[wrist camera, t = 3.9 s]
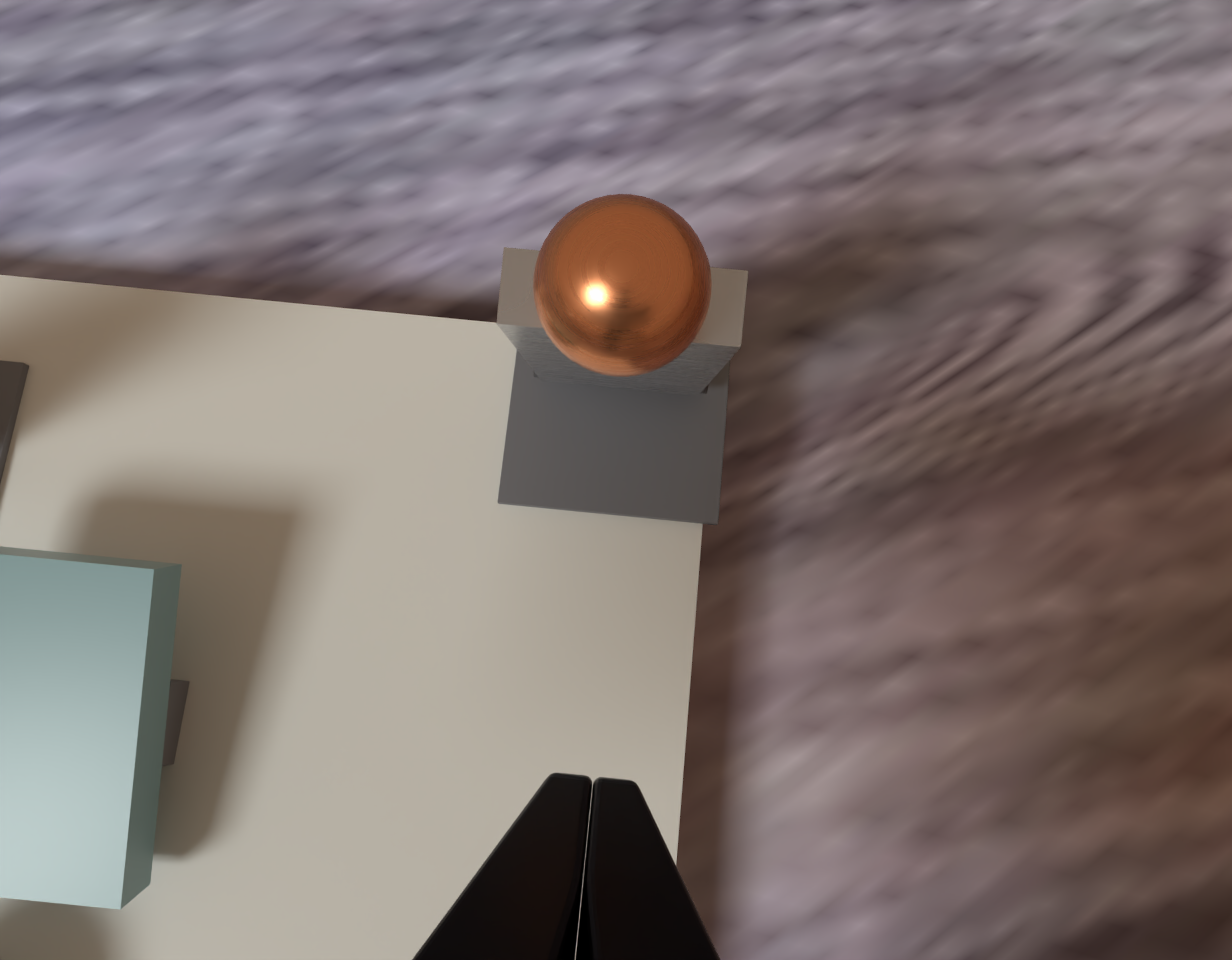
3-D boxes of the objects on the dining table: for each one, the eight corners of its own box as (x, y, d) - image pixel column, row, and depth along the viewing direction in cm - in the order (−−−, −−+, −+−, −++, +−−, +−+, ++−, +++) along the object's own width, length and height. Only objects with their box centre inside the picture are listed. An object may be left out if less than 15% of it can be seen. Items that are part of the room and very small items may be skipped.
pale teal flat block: (150, 884, 17) (120, 909, 16) (-84, 860, 17) (-128, 884, 16) (181, 564, 17) (153, 569, 16) (-52, 540, 17) (-94, 544, 16)
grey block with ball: (701, 428, 19) (774, 379, 10) (532, 412, 19) (451, 348, 10) (711, 325, 19) (792, 183, 10) (542, 309, 19) (471, 151, 10)
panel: (661, 1122, 18) (672, 1200, 16) (-326, 1020, 18) (-488, 1081, 16) (718, 375, 22) (735, 331, 19) (-118, 293, 22) (-221, 239, 19)
